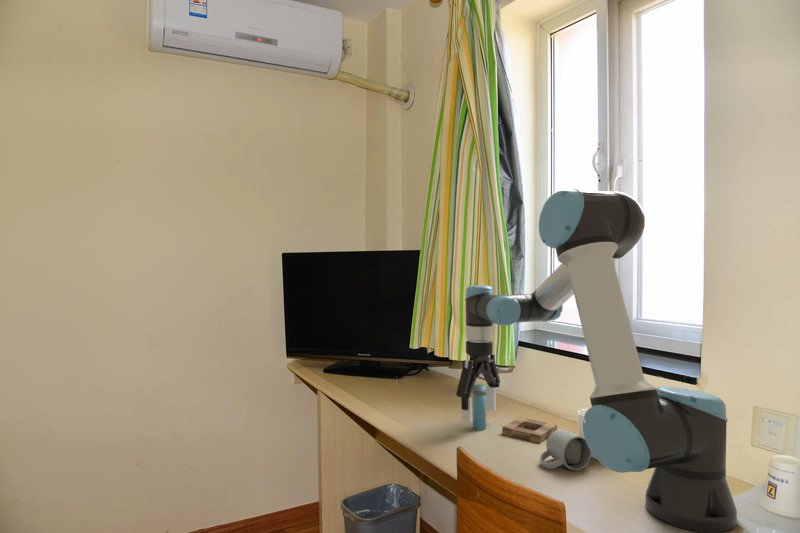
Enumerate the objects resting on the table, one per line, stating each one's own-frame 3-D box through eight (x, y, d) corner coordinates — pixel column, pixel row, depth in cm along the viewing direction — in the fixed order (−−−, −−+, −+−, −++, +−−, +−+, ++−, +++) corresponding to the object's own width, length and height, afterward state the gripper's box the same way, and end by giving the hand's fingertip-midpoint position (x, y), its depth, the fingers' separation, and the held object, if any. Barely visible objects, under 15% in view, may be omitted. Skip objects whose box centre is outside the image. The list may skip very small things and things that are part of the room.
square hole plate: (540, 443, 136) (540, 435, 136) (502, 434, 143) (502, 427, 143) (556, 431, 145) (556, 424, 145) (520, 424, 152) (520, 417, 152)
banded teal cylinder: (481, 431, 145) (481, 388, 145) (469, 428, 148) (469, 386, 148) (488, 427, 148) (488, 385, 148) (476, 425, 151) (476, 383, 151)
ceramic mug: (569, 455, 128) (569, 424, 128) (592, 468, 120) (591, 435, 120) (532, 462, 124) (531, 429, 124) (552, 475, 117) (552, 441, 116)
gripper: (489, 333, 160) (489, 402, 160) (443, 344, 140) (443, 423, 141) (511, 336, 155) (511, 407, 155) (467, 347, 136) (467, 429, 136)
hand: (479, 415), depth 148 cm, fingers open, 13 cm apart
